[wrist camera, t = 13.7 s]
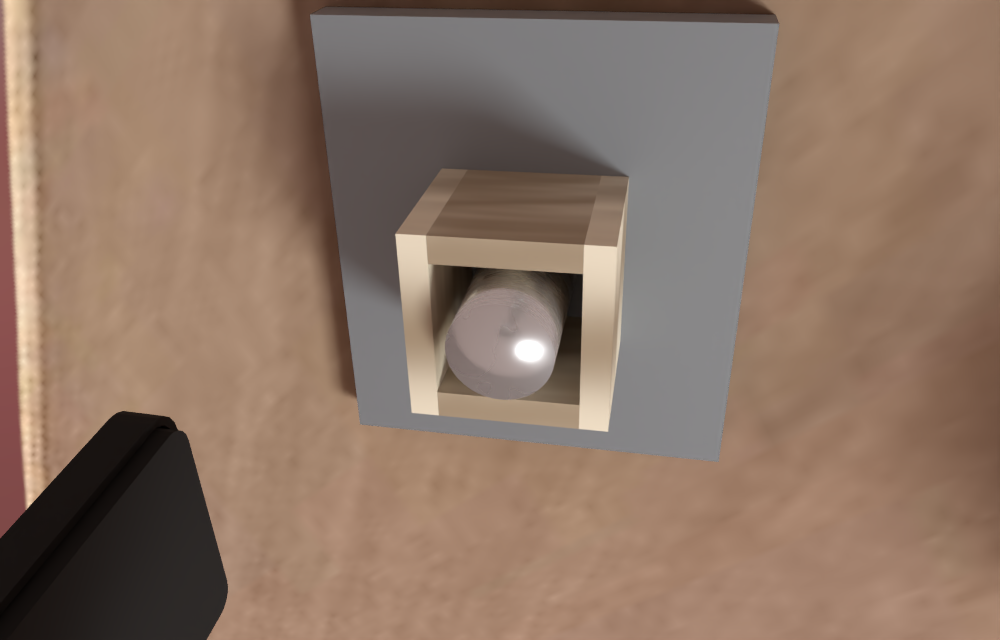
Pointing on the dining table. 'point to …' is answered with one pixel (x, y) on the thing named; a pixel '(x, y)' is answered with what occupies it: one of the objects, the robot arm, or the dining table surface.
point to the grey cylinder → (509, 331)
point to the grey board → (560, 150)
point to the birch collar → (518, 246)
